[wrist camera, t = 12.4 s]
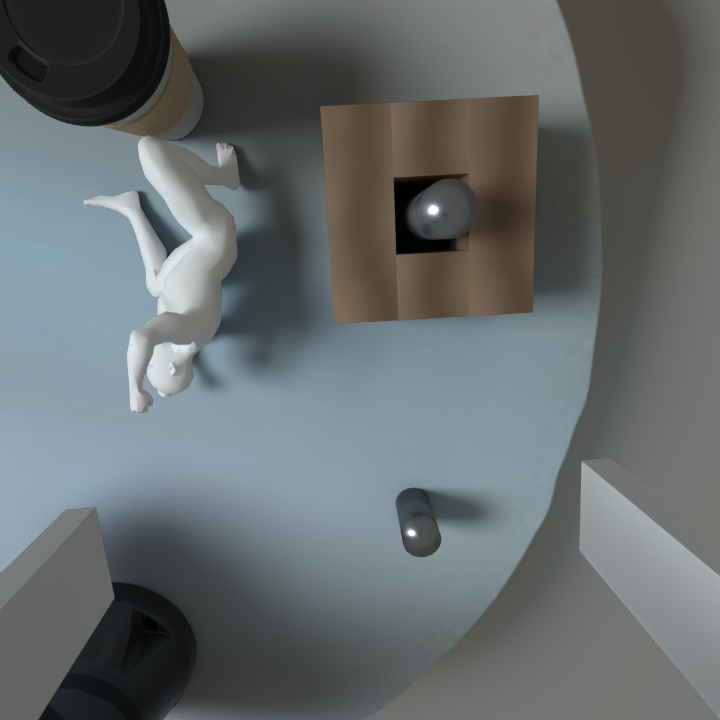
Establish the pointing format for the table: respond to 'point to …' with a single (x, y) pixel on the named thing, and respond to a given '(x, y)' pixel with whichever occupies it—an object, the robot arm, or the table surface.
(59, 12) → the coffee cup
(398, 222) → the long pin
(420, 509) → the short pin
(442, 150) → the pin block
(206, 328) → the person figurine
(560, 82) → the table surface
